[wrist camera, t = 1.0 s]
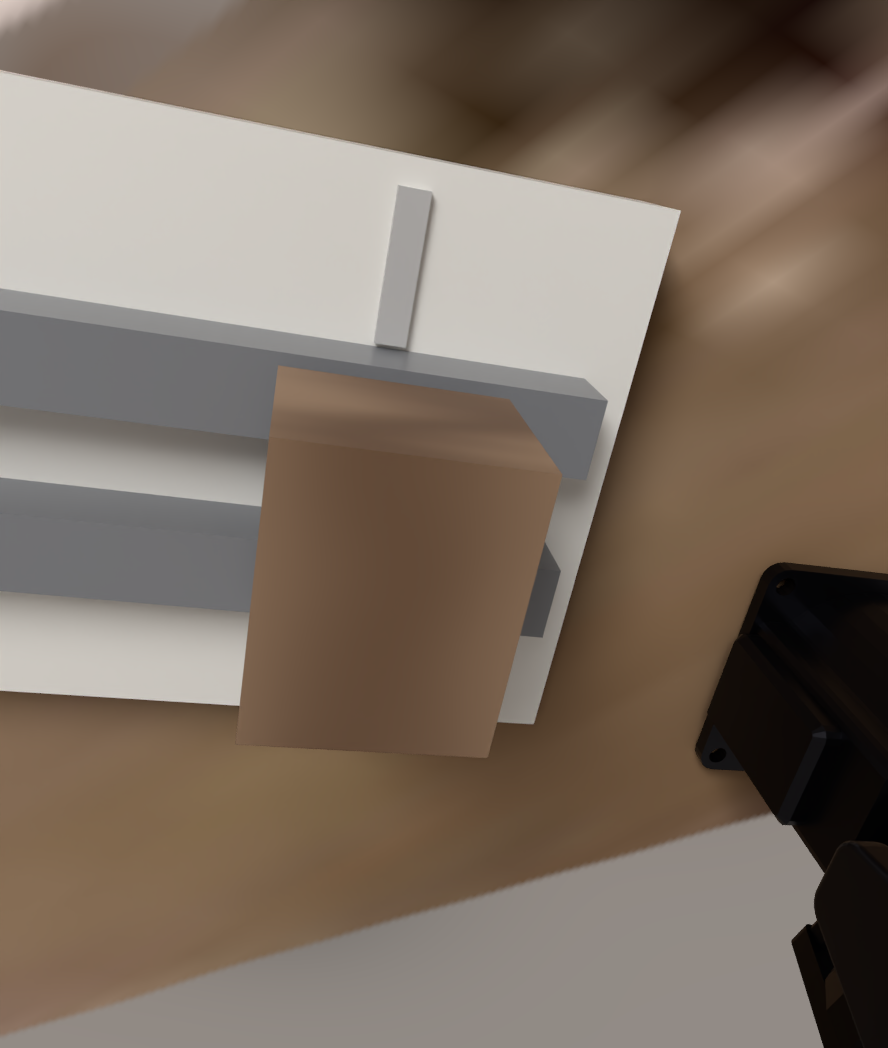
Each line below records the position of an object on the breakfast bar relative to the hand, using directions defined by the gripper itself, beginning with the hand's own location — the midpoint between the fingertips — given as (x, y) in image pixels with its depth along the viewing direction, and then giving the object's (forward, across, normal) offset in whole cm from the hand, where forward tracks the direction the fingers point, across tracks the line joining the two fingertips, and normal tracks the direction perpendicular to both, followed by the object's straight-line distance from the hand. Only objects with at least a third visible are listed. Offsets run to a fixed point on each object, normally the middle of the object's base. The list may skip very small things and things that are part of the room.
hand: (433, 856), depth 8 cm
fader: (+10, 0, 0) cm, 10 cm away
